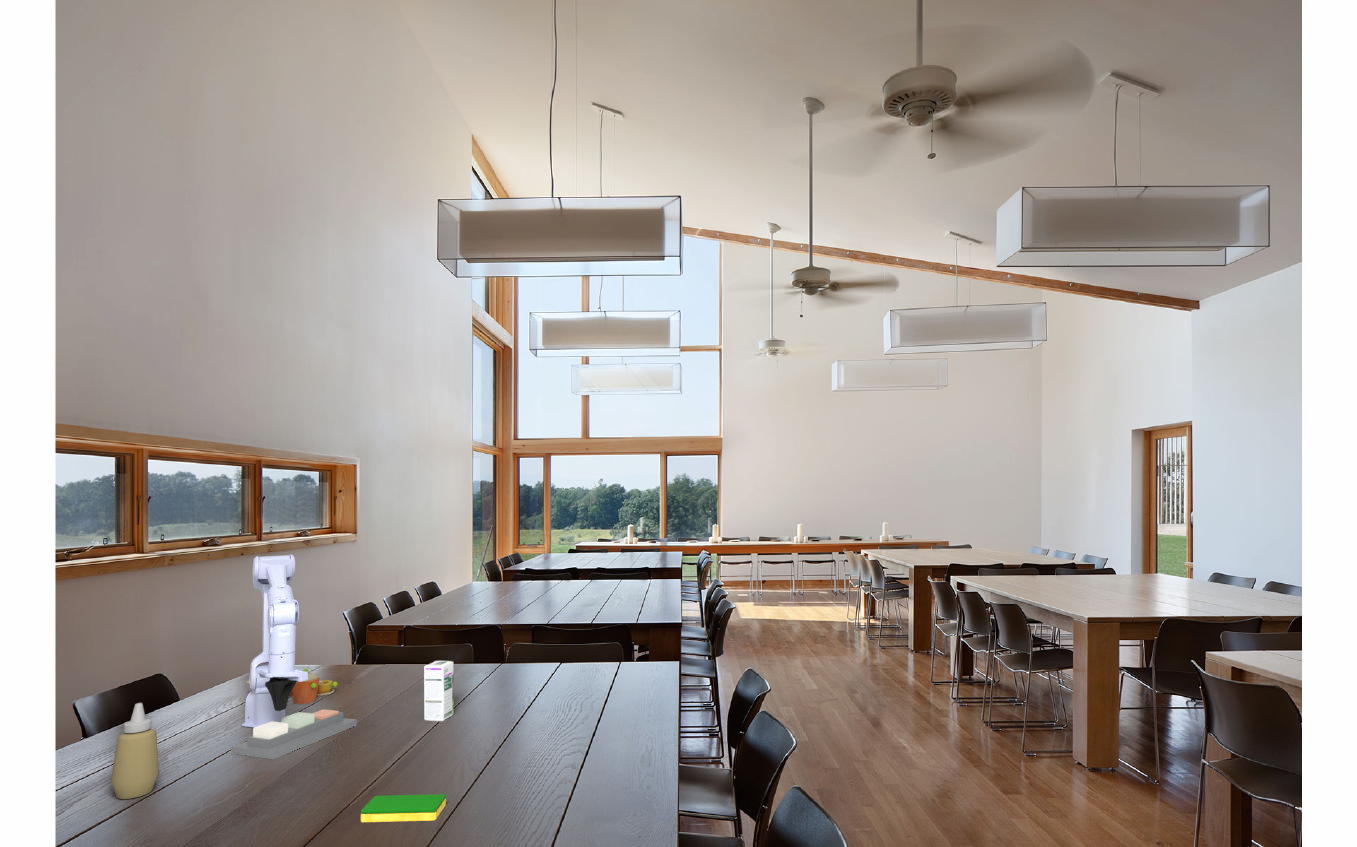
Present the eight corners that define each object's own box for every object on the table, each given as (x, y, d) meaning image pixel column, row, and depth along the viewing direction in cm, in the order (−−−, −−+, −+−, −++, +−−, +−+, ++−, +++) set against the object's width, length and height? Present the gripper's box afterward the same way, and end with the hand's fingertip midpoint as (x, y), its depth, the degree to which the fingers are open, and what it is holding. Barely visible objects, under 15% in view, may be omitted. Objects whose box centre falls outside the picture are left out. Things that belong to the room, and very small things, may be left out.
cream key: (252, 738, 177) (253, 727, 178) (271, 731, 182) (271, 721, 182) (269, 740, 176) (269, 729, 176) (287, 733, 180) (288, 723, 181)
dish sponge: (435, 822, 139) (435, 809, 139) (359, 824, 138) (360, 810, 138) (446, 806, 146) (446, 793, 146) (374, 807, 145) (374, 794, 146)
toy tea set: (341, 690, 232) (342, 659, 233) (319, 705, 217) (320, 671, 218) (255, 692, 231) (257, 660, 232) (227, 707, 216) (228, 673, 217)
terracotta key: (307, 724, 192) (307, 714, 192) (322, 718, 197) (323, 709, 197) (322, 726, 190) (323, 716, 191) (338, 720, 195) (338, 710, 196)
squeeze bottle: (126, 787, 156) (130, 698, 158) (167, 785, 157) (171, 697, 159) (99, 803, 148) (104, 709, 150) (143, 801, 149) (147, 708, 151)
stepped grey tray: (231, 753, 176) (231, 737, 176) (318, 720, 201) (318, 707, 201) (273, 759, 172) (273, 743, 172) (357, 725, 196) (357, 711, 196)
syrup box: (443, 721, 198) (444, 665, 200) (423, 720, 200) (423, 664, 201) (454, 715, 204) (454, 660, 205) (434, 714, 205) (434, 659, 206)
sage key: (281, 728, 185) (281, 717, 185) (298, 722, 190) (298, 711, 190) (297, 730, 183) (297, 719, 183) (314, 723, 188) (314, 713, 188)
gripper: (245, 654, 181) (243, 711, 180) (291, 657, 177) (290, 716, 176) (269, 648, 188) (268, 703, 187) (315, 651, 183) (313, 708, 182)
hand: (280, 709), depth 182 cm, fingers closed
